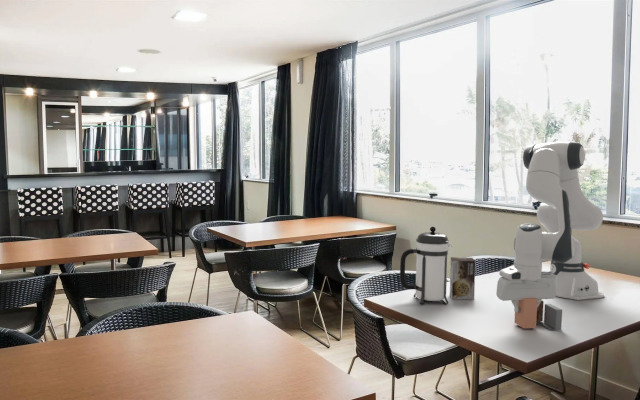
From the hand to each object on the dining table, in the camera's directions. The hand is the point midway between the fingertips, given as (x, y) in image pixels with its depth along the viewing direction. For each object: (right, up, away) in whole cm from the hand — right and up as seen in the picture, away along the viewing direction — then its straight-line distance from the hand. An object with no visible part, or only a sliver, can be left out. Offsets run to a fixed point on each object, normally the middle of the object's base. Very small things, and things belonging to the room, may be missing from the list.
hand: (525, 311), depth 178 cm
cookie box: (-12, -2, +37) cm, 39 cm away
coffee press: (-27, -3, +31) cm, 41 cm away
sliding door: (+3, -4, +8) cm, 10 cm away
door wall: (+7, -5, +8) cm, 12 cm away
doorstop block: (0, -5, 0) cm, 5 cm away
